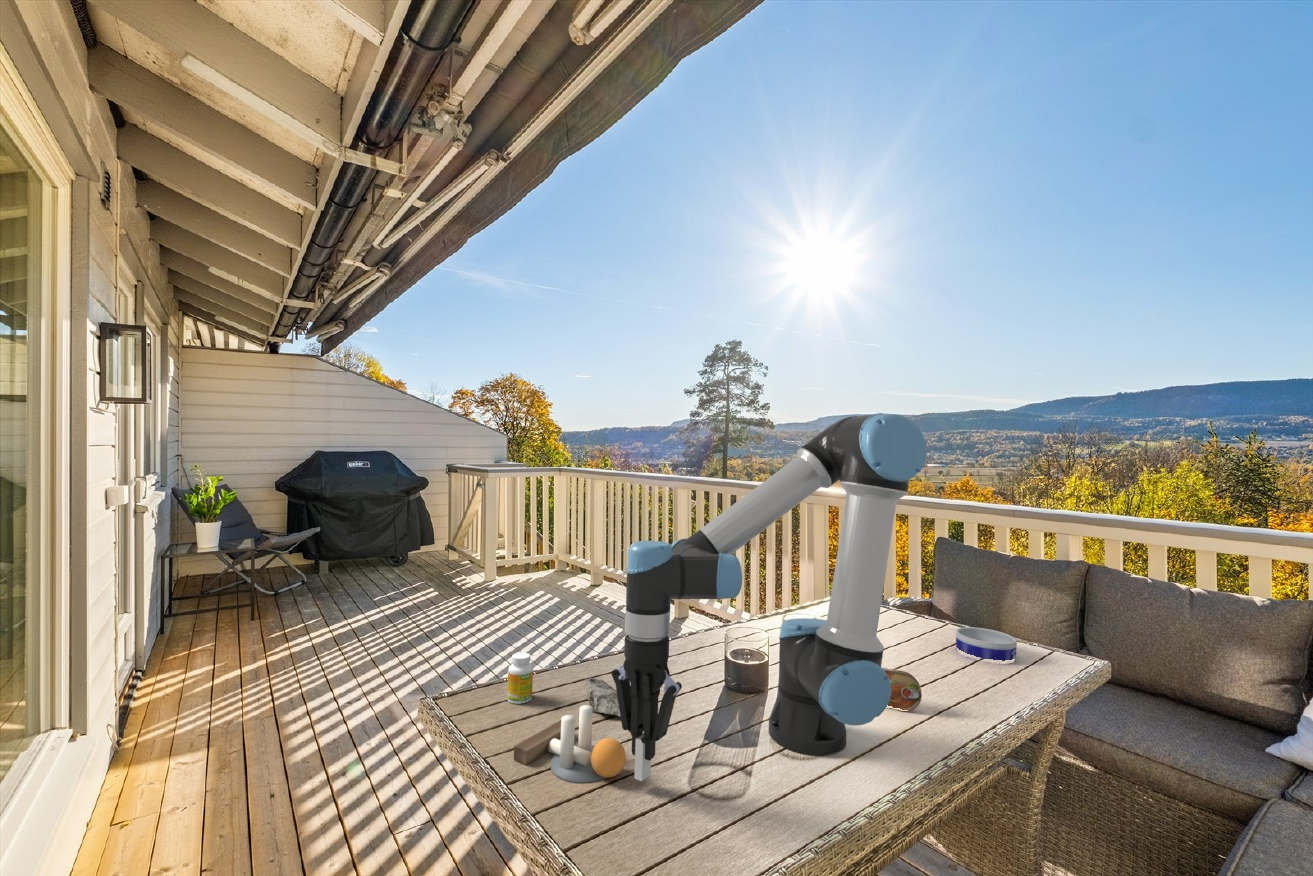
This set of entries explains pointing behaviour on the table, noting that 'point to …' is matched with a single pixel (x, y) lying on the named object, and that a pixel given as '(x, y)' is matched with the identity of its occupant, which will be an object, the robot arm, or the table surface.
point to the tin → (903, 690)
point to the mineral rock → (602, 696)
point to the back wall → (536, 744)
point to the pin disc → (575, 771)
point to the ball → (608, 757)
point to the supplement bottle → (520, 679)
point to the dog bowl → (986, 643)
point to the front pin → (579, 753)
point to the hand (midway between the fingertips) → (642, 776)
